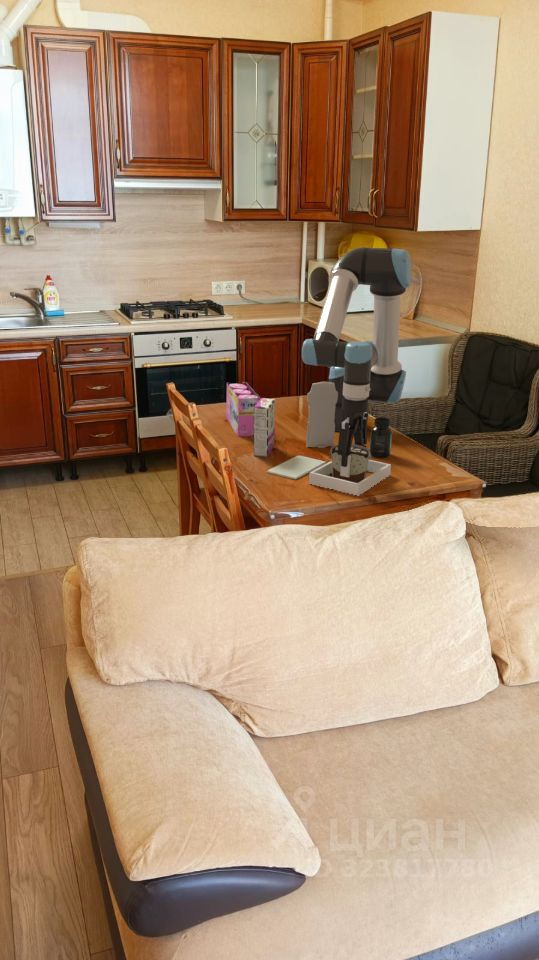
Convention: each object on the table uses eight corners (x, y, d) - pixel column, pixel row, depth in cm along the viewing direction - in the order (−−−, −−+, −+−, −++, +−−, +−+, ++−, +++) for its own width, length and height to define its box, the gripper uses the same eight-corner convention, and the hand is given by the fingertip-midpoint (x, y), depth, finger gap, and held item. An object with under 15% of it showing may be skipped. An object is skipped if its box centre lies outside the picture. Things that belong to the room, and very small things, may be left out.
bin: (343, 464, 243) (344, 453, 241) (390, 475, 235) (390, 464, 233) (309, 483, 226) (309, 472, 225) (357, 496, 218) (358, 484, 217)
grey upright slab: (332, 443, 263) (336, 379, 255) (337, 446, 259) (341, 382, 251) (303, 445, 260) (305, 380, 252) (307, 449, 256) (310, 383, 248)
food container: (373, 478, 232) (375, 446, 228) (368, 485, 226) (371, 452, 223) (333, 472, 235) (334, 441, 232) (327, 479, 230) (329, 447, 226)
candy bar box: (259, 445, 258) (260, 397, 253) (274, 446, 258) (275, 398, 252) (252, 456, 248) (253, 406, 242) (267, 457, 247) (269, 407, 242)
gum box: (224, 417, 289) (225, 381, 284) (245, 416, 291) (246, 380, 286) (237, 436, 267) (238, 398, 262) (260, 435, 269) (261, 397, 264)
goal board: (298, 457, 248) (298, 455, 248) (325, 463, 243) (325, 461, 243) (267, 472, 234) (267, 470, 234) (295, 479, 229) (295, 477, 229)
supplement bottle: (394, 456, 252) (397, 420, 248) (379, 459, 248) (382, 423, 244) (379, 450, 257) (382, 415, 253) (364, 454, 253) (367, 418, 249)
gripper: (351, 406, 212) (346, 485, 220) (382, 392, 227) (376, 466, 236) (327, 402, 216) (323, 479, 224) (359, 388, 231) (354, 461, 239)
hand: (350, 472), depth 230 cm, fingers closed on food container, 7 cm apart
